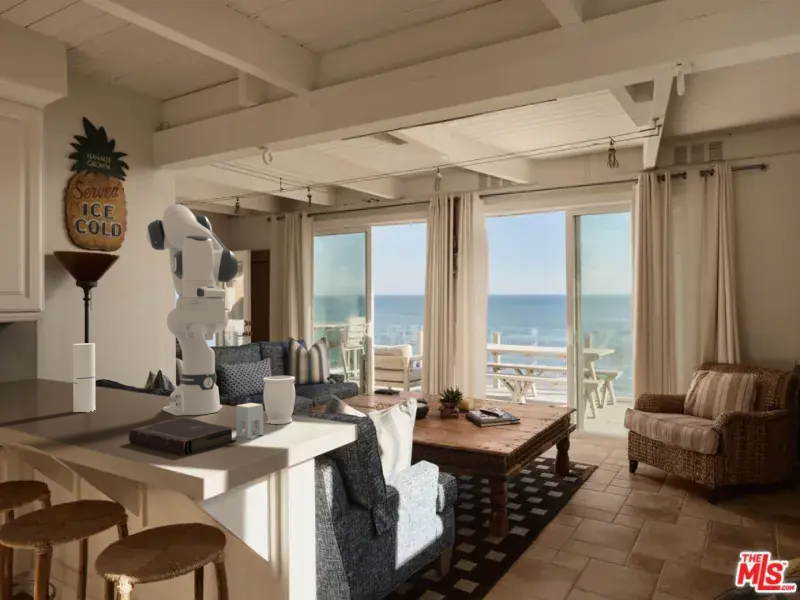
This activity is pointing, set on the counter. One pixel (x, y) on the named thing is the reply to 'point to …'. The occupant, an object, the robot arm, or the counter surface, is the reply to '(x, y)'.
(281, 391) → the jar
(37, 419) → the counter surface
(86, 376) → the miniature refrigerator
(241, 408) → the stool
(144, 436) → the diary
